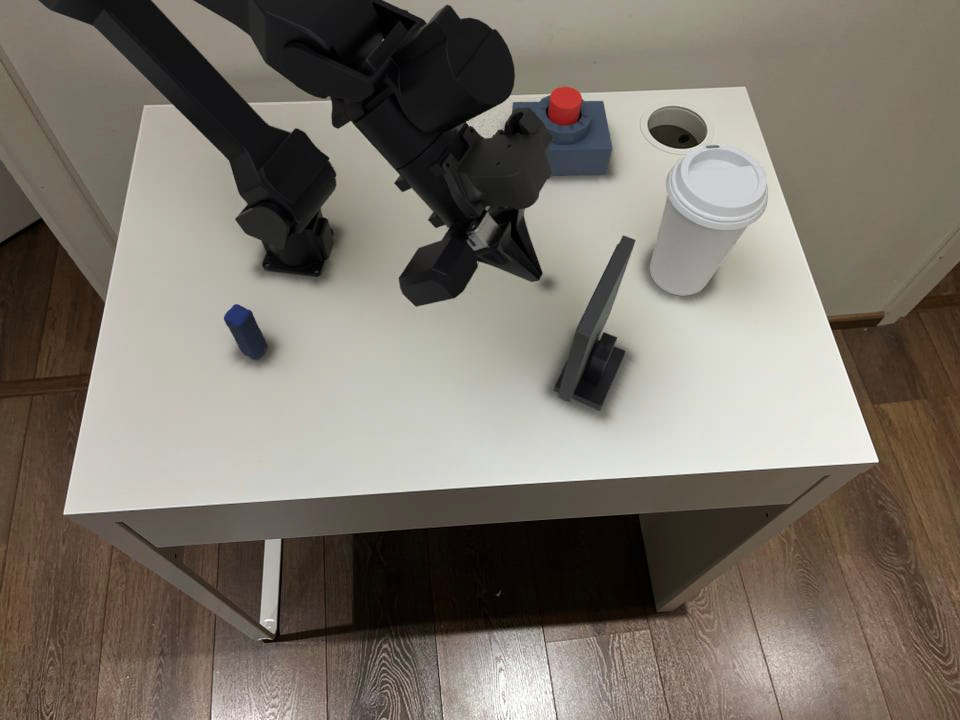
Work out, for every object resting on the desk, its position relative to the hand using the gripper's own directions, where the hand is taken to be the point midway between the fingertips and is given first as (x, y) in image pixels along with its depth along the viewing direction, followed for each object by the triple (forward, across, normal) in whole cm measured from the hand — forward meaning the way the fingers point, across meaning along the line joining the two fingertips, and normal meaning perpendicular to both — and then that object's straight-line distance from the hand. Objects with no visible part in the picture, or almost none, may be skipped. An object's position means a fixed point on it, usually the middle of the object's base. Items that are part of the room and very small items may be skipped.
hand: (537, 278), depth 62 cm
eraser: (-9, -13, +26) cm, 30 cm away
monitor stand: (+13, 0, +4) cm, 13 cm away
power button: (-1, +27, +10) cm, 29 cm away
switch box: (+3, +27, +14) cm, 31 cm away
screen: (+11, 0, +2) cm, 11 cm away
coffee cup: (+17, +16, +1) cm, 23 cm away
